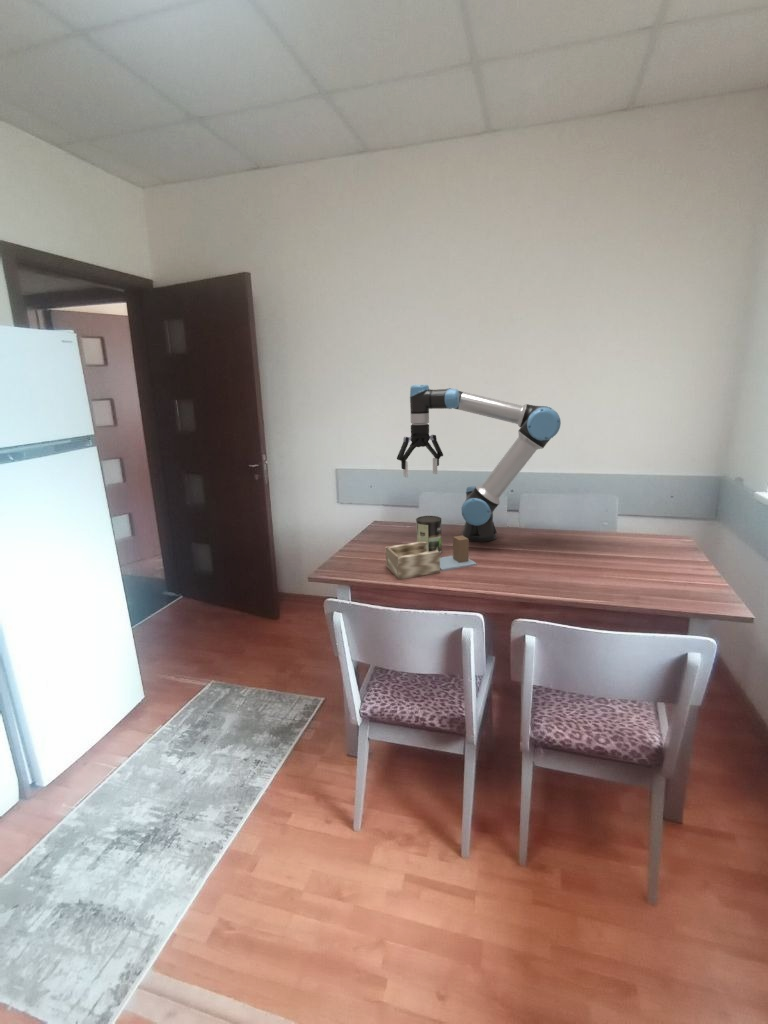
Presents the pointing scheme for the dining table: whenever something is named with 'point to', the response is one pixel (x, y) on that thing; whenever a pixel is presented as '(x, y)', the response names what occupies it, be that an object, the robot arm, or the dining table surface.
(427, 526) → the coffee can
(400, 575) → the box
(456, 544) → the lid
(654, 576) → the dining table surface
